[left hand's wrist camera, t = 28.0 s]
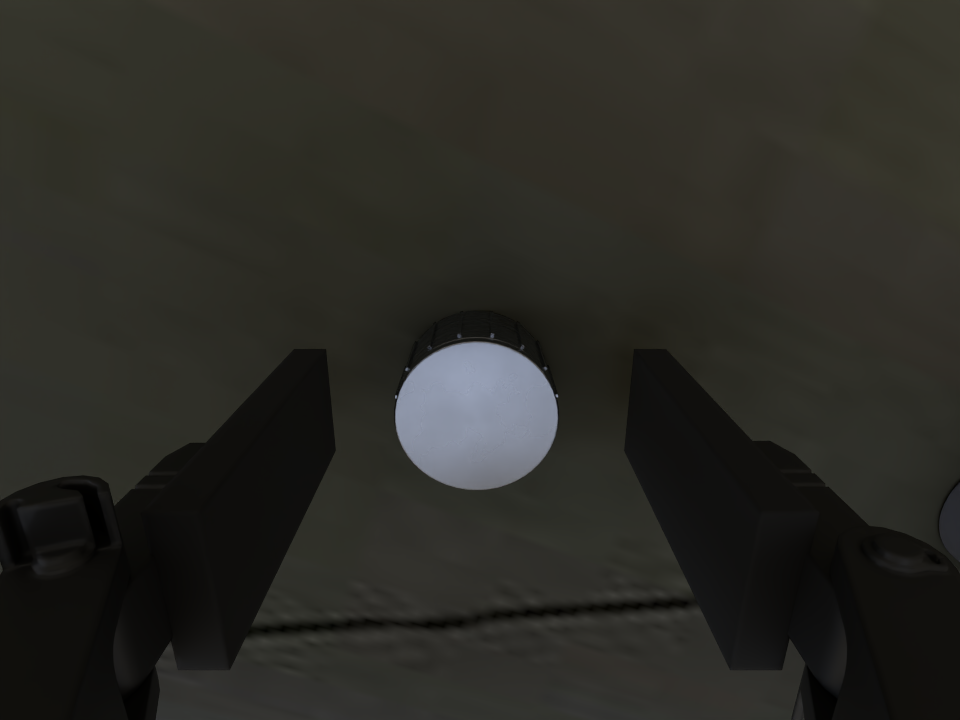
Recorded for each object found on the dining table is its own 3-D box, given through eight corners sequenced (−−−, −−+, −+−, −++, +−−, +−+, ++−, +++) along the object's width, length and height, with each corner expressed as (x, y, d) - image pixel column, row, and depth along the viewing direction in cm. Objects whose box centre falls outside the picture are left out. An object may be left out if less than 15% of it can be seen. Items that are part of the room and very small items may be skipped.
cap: (402, 310, 15) (387, 340, 12) (550, 308, 15) (563, 339, 12) (409, 441, 16) (397, 492, 14) (545, 440, 16) (557, 491, 14)
